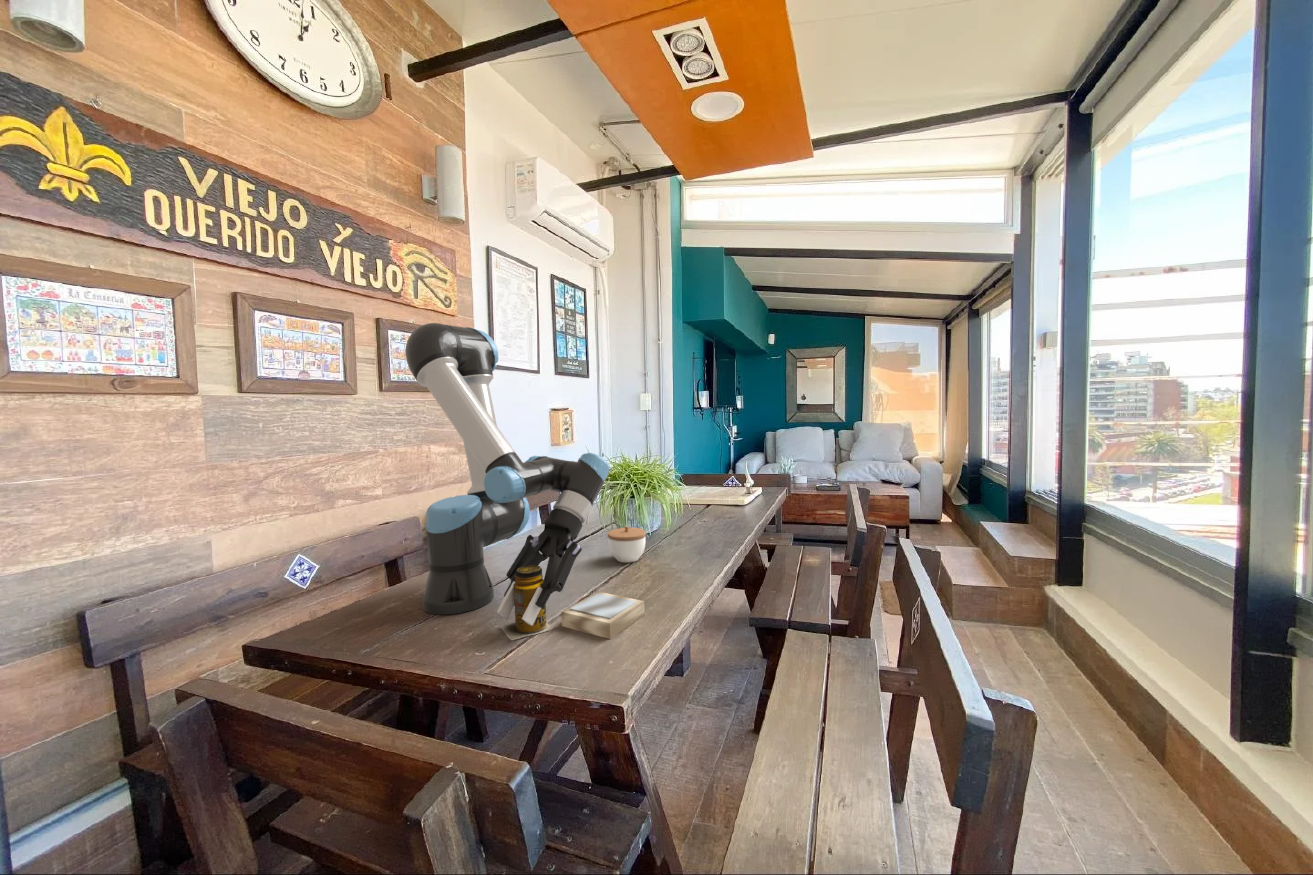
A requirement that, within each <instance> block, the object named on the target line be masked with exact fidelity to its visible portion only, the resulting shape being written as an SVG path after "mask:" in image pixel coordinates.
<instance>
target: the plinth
mask: <svg viewBox="0 0 1313 875" xmlns="http://www.w3.org/2000/svg"><path fill="white" fill-rule="evenodd" d="M645 606H646V605H645V601H644V600H641V599H640V600H639V599H635V598H630V597H627V596H622V595H617V594H613V593H612V594H611V593H607V592H602V591H597V592H594V593H593V594H591V595H590V596H587V597H585V598H584V599H581V600H580V601H578V602H576V603H575V604H573V605H571V606H569V607H567V608H564V610H561V611H560V612H561V613H560V614H561V627H562V628H568V629H572V630H575V631H578V632H582V633H586V634H589V635H590V634H591V635H593V636H598V637H601V638H605V639H609V640H611V639H613V638H614V637H615V636H617V635H619V634H620V633H621V632H623V631H624V630H626V629H627V628H629V627H630V626H631V625H634V624H635V623H636V622H638V621H639V620H641V619H642V618H644V616H646V608H645Z"/></svg>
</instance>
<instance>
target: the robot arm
mask: <svg viewBox="0 0 1313 875" xmlns="http://www.w3.org/2000/svg"><path fill="white" fill-rule="evenodd" d="M404 353H405V359H406V363H407V365H408V369H409V370H410V371H409V372H411V374H412V376H413V378H414V379H415V380H416V381H417V383H418V384H419V386H421V387H424V388H426V387H427V389H428V391H429V392H430V393H431V396H433V398H434V399H435V401H436V402H437V404H438V405H439V407H440V408H441V410H442V411H443V412H444V414H445V415H446V417H447V419H449V421H450V423H451V424H452V425H453V427H454V429H455V430H456V432H457V433H458V435H459V436H460V437H461V439H462V441H463V446H464V447H463V448H464V451H465V456H466V461H467V466H468V472H469V476H470V482H471V485H470V488H468V491H467V492H466V494H461V495H456V496H454V497H453V496H450V497H446V498H442V499H439V500H437V501H435V502H434V503H432V504H431V505H429V507H427V510H426V514H425V517H426V518H425V519H426V520H425V524H424V525H425V526H424V527H425V530H426V543H427V554H428V572H429V573H428V576H427V580H426V584H425V588H424V591H423V594H422V609H423V610H424V611H425V612H426V613H429V614H433V615H454V614H461V613H465V612H466V613H467V612H469V611H474V610H476V609H480V608H482V607H484V606H486V605H488V604H489V603H491V601H492V600H493V599H494V597H495V593H494V585H493V583H492V581H491V577H490V575H489V573H488V571H487V568H486V566H485V559H484V558H485V557H484V548H485V547H489V546H491V545H494V544H496V543H498V542H499V543H500V542H501V541H505V540H509V539H511V538H513V537H514V536H516V535H518V534H520V533H521V532H522V531H523V530H524V529H525V528H526V525H527V524H528V522H529V520H530V513H531V511H530V509H531V508H530V504H529V501H528V497H531V496H535V495H540V494H543V493H546V492H556V493H560V494H559V495H558V497H557V499H556V501H555V503H554V505H553V507H552V509H551V510H550V512H549V514H548V516H547V517H546V519H545V521H544V529H543V531H542V532H540V534H539V535H537V536H533V535H532V534H528V535H527V537H526V540H525V543H524V545H523V547H522V548H521V549H520V552H519V553H518V555H517V556H516V558H515V559H514V561H513V562H512V564H511V566H510V568H509V569H508V571H507V572H506V577H507V578H508V579H509V580H510V583H509V585H508V587H507V588H506V590H505V592H504V594H503V597H504V598H503V599H502V601H501V604H500V605H499V606H498V608H497V611H496V613H497V614H499V615H500V616H502V618H505V619H508V618H509V616H510V615H511V613H512V611H513V609H514V608H515V606H514V588H513V586H514V583H515V582H516V581H515V571H516V570H517V569H518V568H520V567H522V566H528V565H536V566H540V564H541V563H542V562H543V561H546V559H547V558H548V562H547V565H546V568H545V574H544V576H543V580H544V581H543V583H542V584H540V585H541V586H542V587H543V589H542V588H541V587H538V588H537V590H536V592H535V594H534V596H533V598H532V600H531V602H530V603H529V605H528V607H527V609H526V611H525V613H524V615H523V617H522V619H523V620H524V621H525V622H527V623H528V624H529V625H533V623H534V621H535V619H536V617H537V615H538V613H539V611H540V609H541V608H543V607H544V606H545V604H547V602H548V601H549V598H550V596H551V595H552V594H553V593H554V592H555V593H556V592H558V593H560V592H562V591H563V590H564V587H565V584H566V583H567V579H568V578H569V575H570V572H571V570H572V568H573V565H574V563H575V561H576V558H578V557H579V554H581V552H582V551H583V548H582V547H581V546H580V545H579V544H578V543H577V542H576V541H575V540H577V538H578V536H579V534H580V532H581V530H582V528H583V524H584V523H585V521H586V519H587V517H588V515H589V513H590V511H591V510H592V507H593V506H594V503H595V501H596V499H597V497H598V495H599V494H600V492H601V490H602V488H603V486H604V485H605V483H606V479H607V476H608V475H609V473H610V465H609V464H608V462H607V461H606V459H604V458H603V457H602V456H600V455H599V454H596V453H593V452H586V453H583V454H581V455H580V457H579V458H578V459H577V461H573V460H565V459H560V458H554V457H548V456H547V455H543V456H542V455H532V456H530V457H528V459H527V460H525V461H524V462H523V461H522V459H521V458H520V457H519V455H518V453H516V451H515V449H514V448H513V447H512V445H511V444H510V443H509V441H508V440H507V438H506V437H505V436H504V434H503V432H502V431H501V430H500V428H499V427H498V425H497V420H496V415H495V410H494V409H495V408H494V404H493V399H492V394H491V389H490V383H491V382H492V380H493V379H494V374H493V372H494V371H495V369H496V368H497V366H498V365H497V363H498V362H499V351H498V347H497V345H496V342H495V341H494V339H493V338H492V337H491V336H490V334H488V333H486V332H485V331H482V330H479V329H476V328H472V327H469V326H468V327H466V326H465V327H463V326H456V325H450V324H449V325H448V324H444V323H439V322H430V323H425V324H421V326H420V325H419V326H418V327H417V328H415V329H414V330H413V331H412V333H411V334H410V335H409V337H408V339H407V341H406V345H405V352H404Z"/></svg>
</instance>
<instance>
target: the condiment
mask: <svg viewBox="0 0 1313 875" xmlns="http://www.w3.org/2000/svg"><path fill="white" fill-rule="evenodd" d="M515 581H516V582H515V583H514V586H513V588H514V622H512V623H508V624H504V625H500V626H499V627H500V629H501V630H502V632H503V633H504V634H505V636H506V637H508V639H509V640H510V641H516V640H519V639H521V638H525V637H529V636H533V635H537V634H542V633H545V632H547V631H551V630H554V628H555V627H553V626H552V625H550V624H549V623H548V622H547V605H546V604H547V603H546V604H545V606H544V607H543V608H541V609H540V611H539V613H538V615H537V617H536V619H535V621H534V623H533V625H529V624H528V623H527V622H525V621H524V620H523V619H522V617H523V615H524V613H525V611H526V609H527V607H528V605H529V603H530V602H531V600H532V598H533V596H534V594H535V592H536V590H537V588H538V587H541V588H542V589H543V587H542V586H541V585H540V584H542V583H543V581H544V576H543V568H542V567H541V566H540V565H538V566H536V565H528V566H522V567H520V568H518V569H517V570H516V571H515Z"/></svg>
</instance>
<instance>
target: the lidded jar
mask: <svg viewBox="0 0 1313 875" xmlns="http://www.w3.org/2000/svg"><path fill="white" fill-rule="evenodd" d="M646 535H647V531H646V530H644V529H643V528H639V527H629V526H628V525H624V527H620V528H616V529H611V530H609V531H608V532H607V538H608V539H607V540H608V541H607V542H608V548H609V552H610V554H611V555H612V556H613V557H614V558H615V559H616V561H617V562H620V563H626V564H628V563H633V562H637V561H639V558H640V557H641V556H642V555H643V554H644V552H645V548H646V543H647V542H646Z"/></svg>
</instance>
